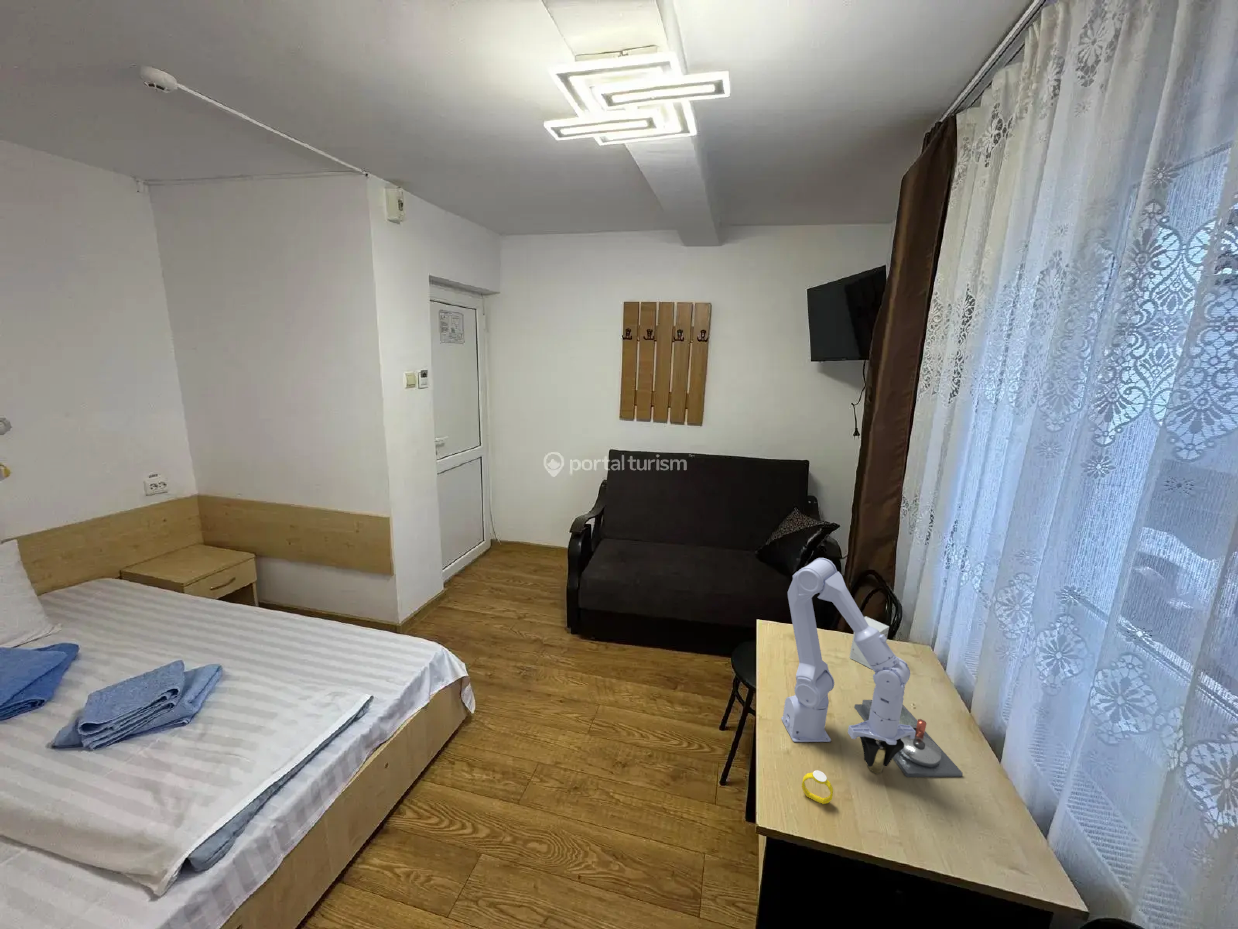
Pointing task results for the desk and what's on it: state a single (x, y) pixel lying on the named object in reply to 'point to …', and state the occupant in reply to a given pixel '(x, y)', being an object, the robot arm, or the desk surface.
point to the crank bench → (907, 766)
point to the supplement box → (855, 651)
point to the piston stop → (879, 758)
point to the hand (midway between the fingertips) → (875, 763)
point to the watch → (820, 779)
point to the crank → (921, 747)
